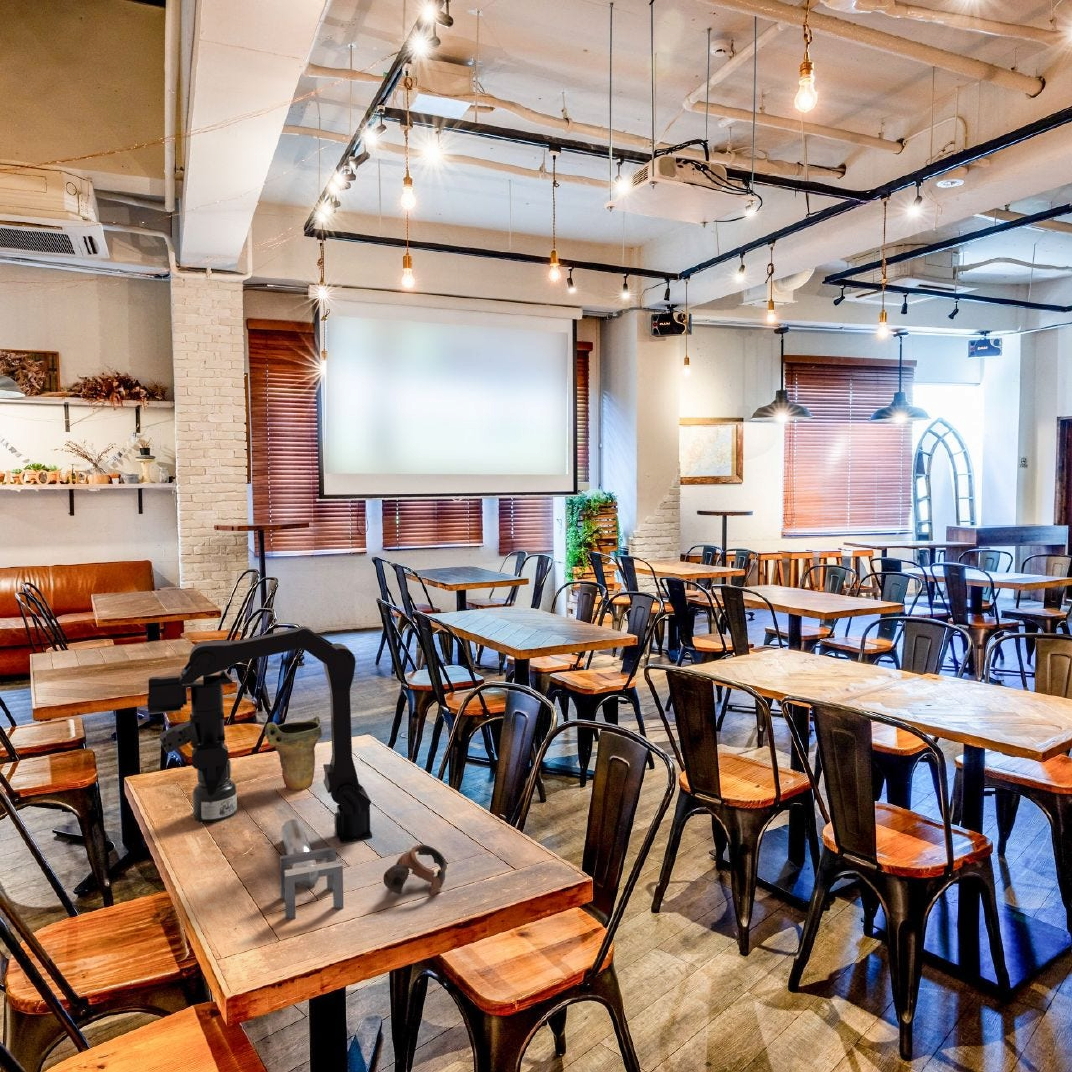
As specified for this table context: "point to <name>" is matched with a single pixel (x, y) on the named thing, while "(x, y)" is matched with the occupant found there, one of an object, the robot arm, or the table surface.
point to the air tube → (298, 849)
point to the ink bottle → (215, 799)
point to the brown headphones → (416, 870)
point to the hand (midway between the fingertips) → (210, 787)
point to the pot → (296, 750)
